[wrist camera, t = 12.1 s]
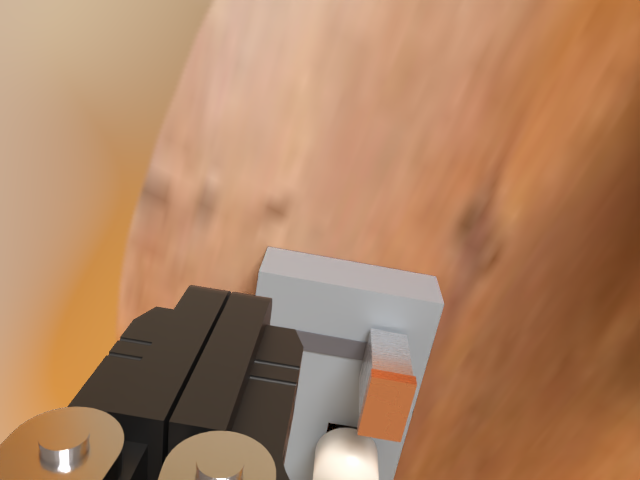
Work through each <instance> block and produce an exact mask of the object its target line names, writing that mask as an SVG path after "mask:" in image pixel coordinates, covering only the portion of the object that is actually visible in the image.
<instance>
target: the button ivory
mask: <svg viewBox="0 0 640 480" xmlns="http://www.w3.org/2000/svg"><path fill="white" fill-rule="evenodd" d="M313 480H379V472H378V452H377V447H376V444H375V442H374V441H373V440H372V438H371V437H366V436H361V435H357V428H356V427H351V426H345V425H339V424H336V429H334V430H331V431H329V432H327V433H325V434H324V435H323V436H322V437H321V438H320V439H319V441H318V442H317V445H316V449H315V460H314V471H313Z"/></svg>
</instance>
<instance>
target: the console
mask: <svg viewBox="0 0 640 480" xmlns="http://www.w3.org/2000/svg"><path fill="white" fill-rule="evenodd" d="M256 296H262V297H268V298H272V312H271V321H270V325H272V326H278V327H284V328H290V329H295V330H296V332H297V334H298V336H299V339H300V341H301V343H302V345H303V347H304V348H303V355H302V361H301V368H300V375H299V381H298V388H297V395H296V401H295V408H294V415H293V420H292V425H291V431H290V436H289V441H288V447H287V452H286V457H285V463H284V467H285V471H286V473H287V475H288V477H289V479H290V480H313V471H314V460H315V449H316V445H317V442H318V441H319V439H320V438H321V437H322V436H323V435H324V434H325V433H326V432H327V427H328V423H333V424H339V425H345V426H351V427H356V428H357V425H358V421H359V375H360V371H361V367H362V363H363V358H364V354H365V350H366V346H367V342H368V337H369V333H370V329H371V328H373V329H378V330H384V331H390V332H395V333H401V334H407V338H408V344H409V351H410V357H411V364H412V370H413V376H416V381H417V387H416V391H415V394H414V398H413V401H412V405H411V408H410V412H409V415H408V419H407V422H406V426H405V429H404V433H403V436H402V440H401V442H395V441H389V440H383V439H378V438H372V437H371V438H372V440H373V441H374V442H375V444H376V447H377V452H378V472H379V480H393V479H394V475H395V472H396V468H397V465H398V461H399V458H400V455H401V451H402V448H403V444H404V441H405V437H406V434H407V431H408V427H409V424H410V420H411V417H412V413H413V410H414V406H415V403H416V400H417V396H418V393H419V389H420V386H421V382H422V379H423V375H424V372H425V369H426V365H427V362H428V358H429V355H430V351H431V348H432V344H433V341H434V338H435V334H436V331H437V327H438V324H439V320H440V317H441V313H442V310H443V307H444V302H443V298H442V295H441V292H440V288H439V285H438V282H437V278H436V276H431V275H425V274H419V273H414V272H408V271H403V270H397V269H391V268H386V267H380V266H374V265H369V264H363V263H358V262H352V261H346V260H341V259H335V258H329V257H324V256H318V255H313V254H307V253H301V252H296V251H290V250H284V249H279V248H273V247H268V248H267V250H266V253H265V256H264V259H263V261H262V264H261V267H260V270H259V274H258V282H257V289H256Z"/></svg>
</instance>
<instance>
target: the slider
mask: <svg viewBox="0 0 640 480" xmlns="http://www.w3.org/2000/svg"><path fill="white" fill-rule="evenodd" d="M416 387H417V381H416V376H413V370H412V364H411V357H410V351H409V344H408V338H407V334H401V333H395V332H390V331H384V330H378V329H373V328H371V329H370V333H369V337H368V342H367V346H366V350H365V354H364V358H363V363H362V367H361V371H360V375H359V421H358V425H357V435H361V436H366V437H372V438H378V439H383V440H389V441H395V442H401V440H402V436H403V433H404V429H405V426H406V422H407V419H408V415H409V412H410V408H411V405H412V401H413V398H414V394H415V391H416Z"/></svg>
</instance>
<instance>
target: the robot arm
mask: <svg viewBox="0 0 640 480" xmlns="http://www.w3.org/2000/svg"><path fill="white" fill-rule="evenodd" d="M271 312H272V298H268V297H262V296H256V295H250V294H244V293H238V292H232V293H231V292H230V291H225V290H219V289H212V288H206V287H200V286H194V285H190V286H189V287H188V289H187V290H186V292H185V293H184V295H183V296H182V298H181V299H180V301H179V302H178V304H177V305H176V307H175V308H174V310H173V309H167V308H161V307H155V308H153V309H151V310H150V311H148V312H146V313H144V314H143V315H141V316H139V317H137V318H136V319H134V320H133V321H132V323H131V324H130V325H129V326H128V328H127V329H126V330H125V332H124V333H123V334H122V336H121V338H120V341H117V342H116V344H115V345H114V346H113V348H112V349H111V350H110V351H109V355H108V356H106V357H105V358H104V359H103V361H102V362H101V363H100V365H99V366H98V367H97V369H96V370H95V372H94V373H93V374H92V375H91V377H90V378H89V379H88V380H87V382H86V383H85V384H84V386H83V387H82V388H81V390H80V391H79V392H78V394H77V395H76V396H75V398H74V399H73V400H72V402H71V403H70V404H69V406H68V407H65V408H59V409H55V410H51V411H47V412H44V413H42V414H39V415H37V416H35V417H33V418H31V419H29V420H27V421H26V422H24V423H23V424H21V425H20V426H19V427H18V428H17V429H15V430H14V431H13V432H12V433H11V434H10V435H9V436H8V437H7V438H6V439H5V440H4V441H3V442H2V443H1V444H0V480H290V479H289V477H288V475H287V473H286V471H285V467H284V463H285V457H286V452H287V447H288V441H289V436H290V431H291V425H292V420H293V415H294V408H295V401H296V395H297V388H298V381H299V375H300V368H301V361H302V355H303V348H304V347H303V345H302V343H301V341H300V339H299V336H298V334H297V332H296V330H295V329H290V328H284V327H278V326H272V325H270V321H271Z"/></svg>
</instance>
